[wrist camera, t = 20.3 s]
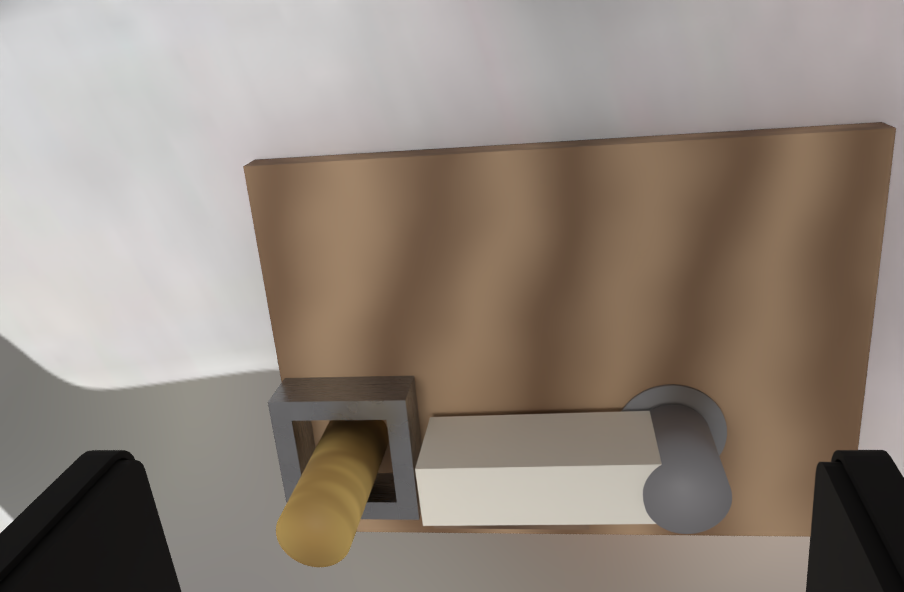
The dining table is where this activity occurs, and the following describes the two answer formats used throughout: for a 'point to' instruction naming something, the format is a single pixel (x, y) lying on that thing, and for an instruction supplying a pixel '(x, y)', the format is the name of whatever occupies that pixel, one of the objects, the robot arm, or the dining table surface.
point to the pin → (332, 492)
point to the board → (597, 290)
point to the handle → (573, 470)
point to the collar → (352, 402)
